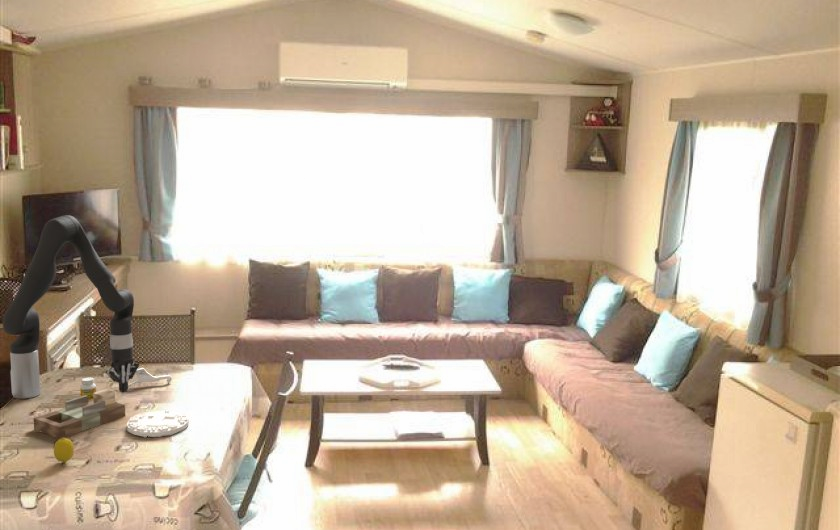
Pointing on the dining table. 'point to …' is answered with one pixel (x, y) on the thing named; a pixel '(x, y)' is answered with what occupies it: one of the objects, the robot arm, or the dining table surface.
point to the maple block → (104, 396)
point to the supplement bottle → (88, 388)
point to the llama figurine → (148, 377)
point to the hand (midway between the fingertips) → (123, 391)
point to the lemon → (63, 449)
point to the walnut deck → (78, 417)
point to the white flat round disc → (157, 423)
